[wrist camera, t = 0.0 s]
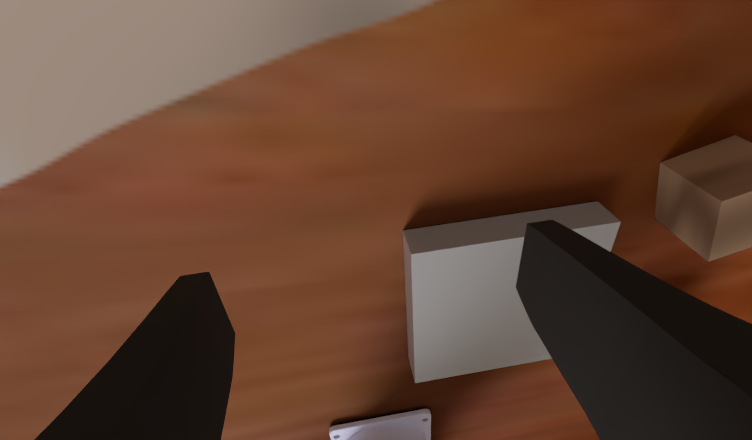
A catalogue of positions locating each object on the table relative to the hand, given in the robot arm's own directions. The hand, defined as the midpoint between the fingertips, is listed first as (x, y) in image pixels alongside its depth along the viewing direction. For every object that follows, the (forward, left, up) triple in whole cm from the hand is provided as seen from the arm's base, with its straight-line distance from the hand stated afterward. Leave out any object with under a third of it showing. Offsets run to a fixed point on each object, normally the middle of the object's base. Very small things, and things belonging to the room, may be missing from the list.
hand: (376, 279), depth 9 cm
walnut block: (-6, -19, -10) cm, 22 cm away
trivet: (-12, -8, -10) cm, 18 cm away
